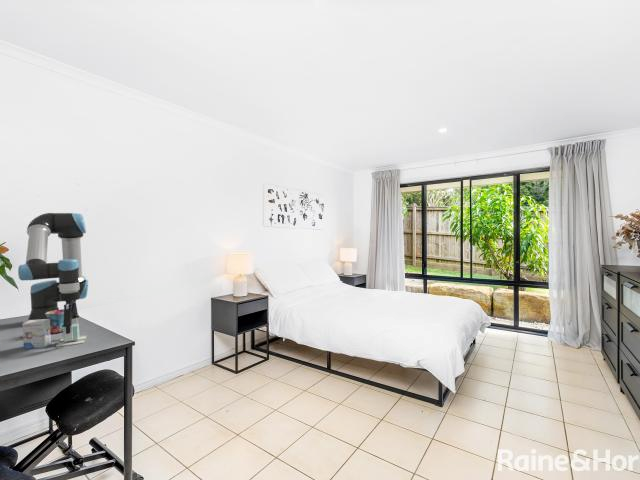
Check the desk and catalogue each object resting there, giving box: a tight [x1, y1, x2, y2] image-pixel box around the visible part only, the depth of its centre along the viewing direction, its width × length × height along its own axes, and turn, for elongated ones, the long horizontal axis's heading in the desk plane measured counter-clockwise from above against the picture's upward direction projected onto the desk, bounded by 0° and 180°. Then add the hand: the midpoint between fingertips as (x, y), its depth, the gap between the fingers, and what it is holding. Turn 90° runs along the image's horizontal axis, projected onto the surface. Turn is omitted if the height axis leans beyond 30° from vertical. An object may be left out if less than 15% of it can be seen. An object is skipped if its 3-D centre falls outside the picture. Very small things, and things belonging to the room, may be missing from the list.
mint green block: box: [62, 323, 80, 342], centre depth 150 cm, size 5×5×7 cm
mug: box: [45, 308, 64, 334], centre depth 166 cm, size 12×9×11 cm
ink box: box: [22, 319, 52, 350], centre depth 145 cm, size 9×5×12 cm, turn 106°
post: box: [55, 334, 88, 348], centre depth 150 cm, size 12×10×7 cm
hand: (71, 335), depth 150 cm, fingers open, 13 cm apart
